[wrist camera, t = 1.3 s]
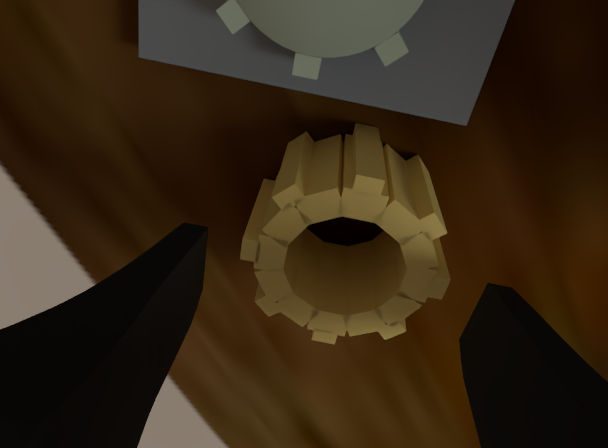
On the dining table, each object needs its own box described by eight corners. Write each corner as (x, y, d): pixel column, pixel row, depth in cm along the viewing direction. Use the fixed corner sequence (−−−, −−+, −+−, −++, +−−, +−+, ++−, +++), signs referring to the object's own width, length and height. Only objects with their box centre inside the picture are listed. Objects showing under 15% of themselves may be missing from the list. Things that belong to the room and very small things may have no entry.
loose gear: (458, 144, 14) (486, 201, 11) (404, 285, 17) (414, 360, 14) (274, 105, 14) (254, 153, 11) (251, 255, 17) (231, 323, 14)
